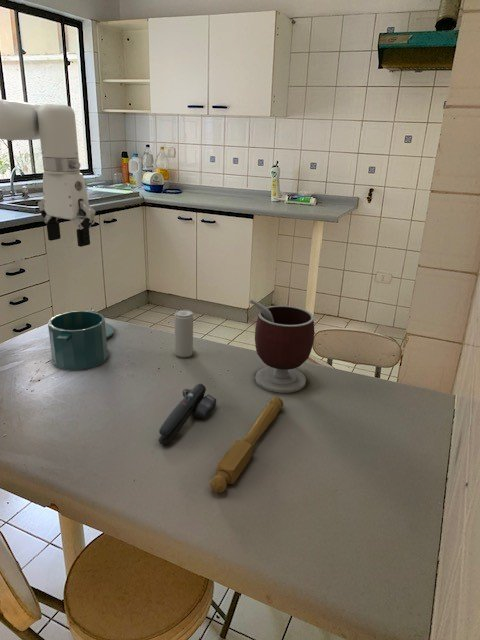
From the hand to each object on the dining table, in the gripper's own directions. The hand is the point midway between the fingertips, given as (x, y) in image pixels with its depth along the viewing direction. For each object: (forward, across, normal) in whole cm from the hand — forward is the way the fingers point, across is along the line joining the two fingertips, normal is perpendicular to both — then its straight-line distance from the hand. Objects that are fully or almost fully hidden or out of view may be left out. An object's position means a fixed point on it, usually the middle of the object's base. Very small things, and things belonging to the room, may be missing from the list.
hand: (69, 242), depth 109 cm
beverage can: (+31, -21, -16) cm, 40 cm away
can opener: (+31, -40, +9) cm, 51 cm away
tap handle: (+31, -54, +9) cm, 63 cm away
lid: (+30, +9, -12) cm, 33 cm away
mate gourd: (+31, -48, -18) cm, 60 cm away
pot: (+30, 0, 0) cm, 30 cm away
